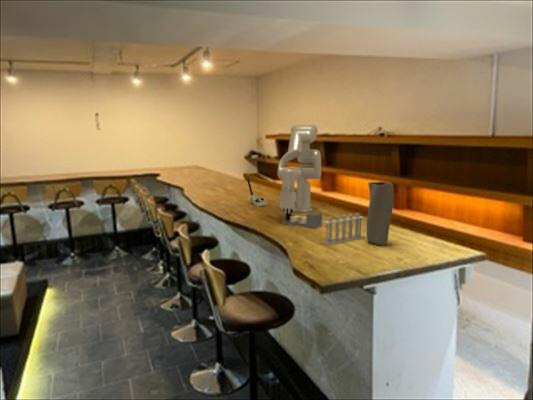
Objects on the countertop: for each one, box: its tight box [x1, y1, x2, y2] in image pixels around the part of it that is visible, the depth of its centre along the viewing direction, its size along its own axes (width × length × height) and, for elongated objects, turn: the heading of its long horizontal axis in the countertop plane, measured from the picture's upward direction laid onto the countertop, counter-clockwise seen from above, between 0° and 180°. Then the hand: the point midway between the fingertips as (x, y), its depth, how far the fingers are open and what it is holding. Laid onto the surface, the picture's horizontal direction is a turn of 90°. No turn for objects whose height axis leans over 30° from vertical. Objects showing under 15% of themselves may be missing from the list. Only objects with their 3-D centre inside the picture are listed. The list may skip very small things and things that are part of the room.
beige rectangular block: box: [290, 214, 306, 224], centre depth 243 cm, size 12×4×5 cm, turn 56°
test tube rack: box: [321, 212, 366, 246], centre depth 209 cm, size 25×4×13 cm, turn 121°
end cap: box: [305, 212, 323, 230], centre depth 238 cm, size 6×8×8 cm
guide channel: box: [281, 220, 306, 228], centre depth 245 cm, size 16×6×2 cm, turn 58°
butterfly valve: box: [246, 178, 268, 207], centre depth 306 cm, size 9×20×17 cm
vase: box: [366, 181, 395, 246], centre depth 201 cm, size 12×12×30 cm
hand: (288, 219), depth 247 cm, fingers closed
